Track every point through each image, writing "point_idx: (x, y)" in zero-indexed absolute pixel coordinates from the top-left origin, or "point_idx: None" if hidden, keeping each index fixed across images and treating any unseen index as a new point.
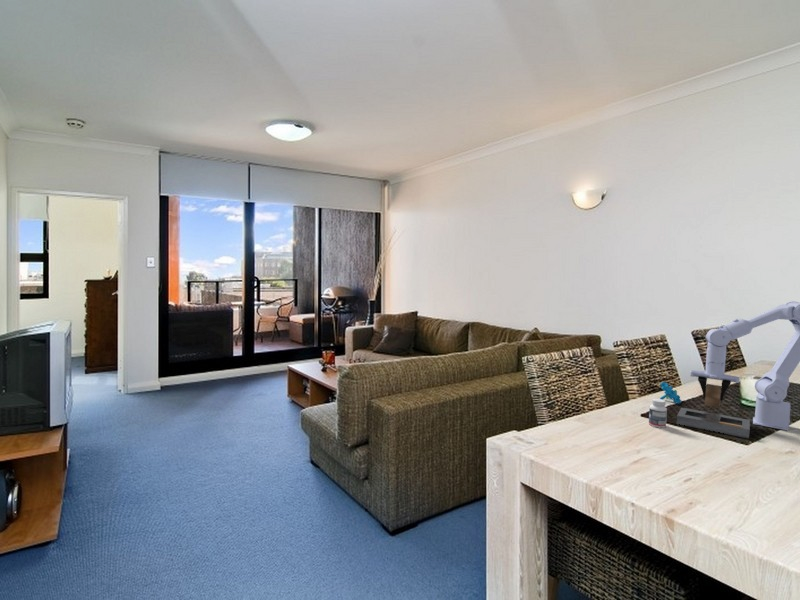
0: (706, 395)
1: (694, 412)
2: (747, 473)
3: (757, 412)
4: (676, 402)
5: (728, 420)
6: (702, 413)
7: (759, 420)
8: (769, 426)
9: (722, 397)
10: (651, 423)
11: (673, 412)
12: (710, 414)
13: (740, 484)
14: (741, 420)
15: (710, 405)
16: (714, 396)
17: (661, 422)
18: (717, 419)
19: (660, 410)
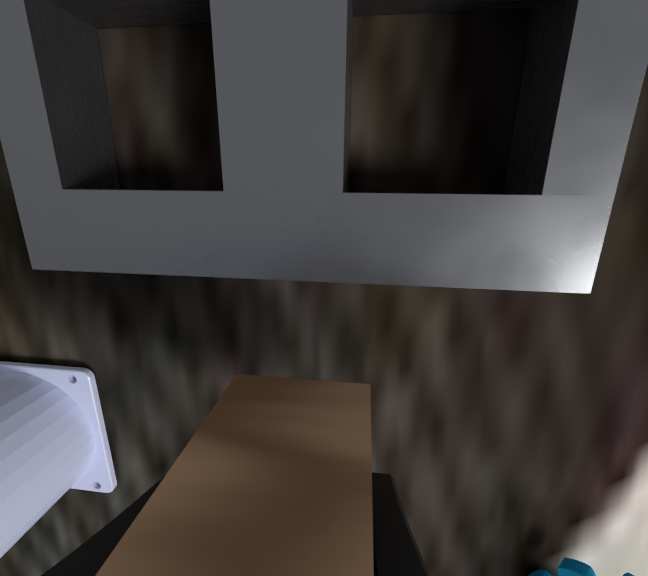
0: (356, 473)
1: (459, 195)
2: None
3: (12, 452)
4: (562, 562)
5: (173, 190)
6: (382, 193)
7: (47, 401)
8: (14, 364)
9: (157, 482)
10: None
11: (598, 326)
12: (311, 213)
13: None
14: (70, 197)
15: (315, 381)
16: (248, 468)
17: None
18: (235, 45)
19: None
